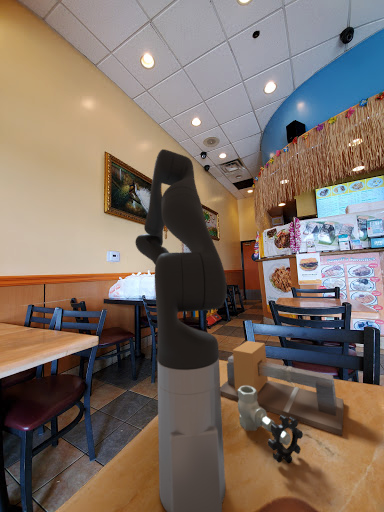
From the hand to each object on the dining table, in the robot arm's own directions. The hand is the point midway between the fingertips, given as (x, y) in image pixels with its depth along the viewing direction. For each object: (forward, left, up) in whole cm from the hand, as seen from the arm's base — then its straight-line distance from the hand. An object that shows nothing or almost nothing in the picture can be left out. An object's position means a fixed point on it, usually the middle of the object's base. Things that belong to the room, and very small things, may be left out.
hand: (199, 305), depth 66 cm
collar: (-11, -11, -20) cm, 25 cm away
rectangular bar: (-16, -15, -21) cm, 30 cm away
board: (-16, -15, -21) cm, 30 cm away
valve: (-27, -6, -21) cm, 35 cm away
